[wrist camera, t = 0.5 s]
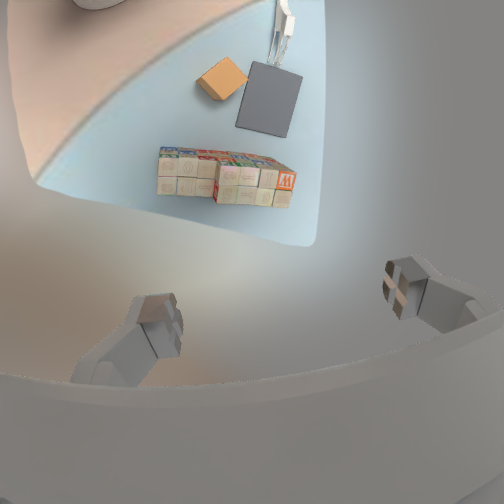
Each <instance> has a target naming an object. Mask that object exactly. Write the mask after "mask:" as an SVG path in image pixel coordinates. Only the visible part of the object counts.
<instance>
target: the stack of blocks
mask: <svg viewBox="0 0 504 504" xmlns="http://www.w3.org/2000/svg"><path fill="white" fill-rule="evenodd" d="M295 178H296V172H294V171H293V170H291V169H289V168H288V167H286V166H285V165H283V164H280V163H279V162H277V161H276V160H274V159H272V158H270V157H264V156H257V155H252V154H245V153H237V152H228V151H226V152H223V151H212V150H210V151H208V150H196V149H192V148H174V147H161V148H160V153H159V163H158V184H157V195H176V196H197V197H213V198H214V200H215V202H216V203H217V204H247V205H255V206H268V207H271V206H272V207H278V208H289V204H290V200H291V196H292V190H293V187H294V183H295Z"/></svg>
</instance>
